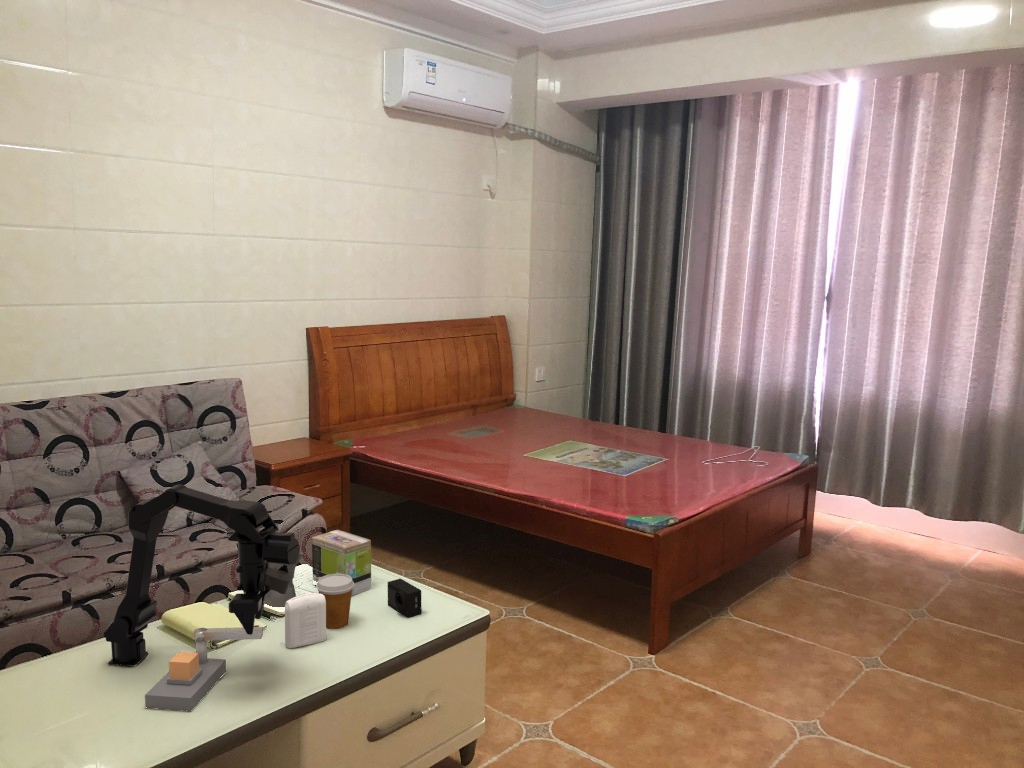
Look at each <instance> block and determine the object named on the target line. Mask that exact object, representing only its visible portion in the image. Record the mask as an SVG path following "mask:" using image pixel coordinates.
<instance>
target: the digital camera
mask: <svg viewBox="0 0 1024 768" xmlns="http://www.w3.org/2000/svg"><path fill="white" fill-rule="evenodd" d="M387 606H388V607H390V609H392V610H394V611H395V612H397V613H399V614H400V615H402V616H403V617H405V618H407V619H411V618H414V617H417V616H420V615H422V590H421V589H420V588H419V587H417V586H414V585H413V584H411V582H408V581H406V580H404V579H402V578H398V579H397V578H396V579H394V580H389V581H387Z"/></svg>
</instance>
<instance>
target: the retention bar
mask: <svg viewBox="0 0 1024 768" xmlns="http://www.w3.org/2000/svg"><path fill="white" fill-rule="evenodd" d="M263 630H264V627H263V626H254V629H253V634H252V635H248V634H247V633H246V631H245V629H244V628H243V626H242V627H241V626H239V627H211V628H210V627H207V628H206V627H198V628H195V629H194V630H193V639H194V642H195V641H197V642H201V641H207V642H208V641H210V642H211V641H239V640H240V641H242V640H262V638H263V636H264V631H263Z"/></svg>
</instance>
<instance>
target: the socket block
mask: <svg viewBox="0 0 1024 768" xmlns="http://www.w3.org/2000/svg"><path fill="white" fill-rule="evenodd" d="M194 642H195V653H198V655H199V668H202V672H203V673H202V674H201V675H200V676H199V677H198V678H197V679H196V680H195V681H194V682H193V683H192V685H180V684H167V678H168V677H169V676H170V670H168V671H167V672H166V673H165V675H163V677H162V678H161V679H159V681H157V682H156V683H155V684H154V685H153V686H152V687H151V688H150V689H149V691H147V692H146V693H145V694H144V703H145V706H144V707H145V708H146V707H147V708H146V709H150V708H158V709H157V710H164V709H170V710H169V711H178V710H183V711H182V712H192V711H193V710H194V709H195V708H196V707H197V706H198V704H199V703H200V702H201V701H202V700H203V699H202V698H203V697H204V698H205V696H206V695H207V694H208V693H209V692H210V691H211V690H212V689H211V687H212V686H213V685H214V684H215V683H216V682H217V681H218V680H219V681H220V679H221V678H222V677H223V676H224V675H225V674H226V673H227V659H226V658H212V657H208V643H207V642H208V641H201V642H197V641H195V640H194ZM225 672H226V673H225ZM224 673H225V674H224ZM223 674H224V675H223ZM222 675H223V676H222ZM221 676H222V677H221ZM220 677H221V678H220ZM219 681H218V682H219ZM218 682H217V683H218ZM217 683H216V684H217ZM216 684H215V685H216ZM215 685H214V686H215ZM214 686H213V687H214ZM213 687H212V688H213ZM210 689H211V690H210ZM209 690H210V691H209ZM208 691H209V692H208ZM207 692H208V693H207ZM201 699H202V700H201ZM200 700H201V701H200ZM198 702H199V703H198ZM195 706H196V707H195ZM194 707H195V708H194ZM193 708H194V709H193ZM192 709H193V710H192ZM186 710H187V711H186ZM191 710H192V711H191Z"/></svg>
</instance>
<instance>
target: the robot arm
mask: <svg viewBox="0 0 1024 768" xmlns="http://www.w3.org/2000/svg"><path fill="white" fill-rule="evenodd" d="M175 507H177V508H179V509H183V510H187V511H189V512H192V513H197V514H199V515H203V516H204V517H205V516H206V517H209V518H213V519H215V520H219V521H221V522H223V524H224V525H225V526H227V528H228V529H230V530H232V531H234V532H233V533H232V534H231V535H230V536H229V537H228V538H227V540H228V541H230V542H237V555H238V557H237V558H238V559H237V561H238V563H237V567H236V568H235V569H236V570H235V572H236V573H237V574H238V584H237V586H236V590H237V592H238V591H242V592H243V593H236V594H235V595H234V596H232V598H231V600H230V601H229V603H228V613H230V614H234V615H235V617H236V618H237V620H239V623H240V625H241V626H242V627H243V628H244V629H245V631H246V633H247V634H248V635H252V634H253V629H254V627H255V621H256V620H260V619H261V618H262V614H263V606H264V600H265V595H266V594H267V593H268V592H269V591H270V590H274V591H277V592H279V593H280V594H286V592H287V590H288V588H289V585H290V582H291V579H292V577H293V575H292V572H291V573H290V568H289V565H287V564H290V565H293V564H295V563H296V561H297V559H298V557H299V552H301V551H300V550H301V545H300V543H299V541H298V539H297V538H295V537H296V535H295V533H294V532H278V531H279V527H278V526H277V524H276V523H275V522H274V520H273V519H272V517H271V516H270V514H269V512H268V510H267V508H266V506H265V504H263V503H262V502H259V501H253V500H246V499H245V500H230V499H226V498H223V497H220V496H216V495H213V494H211V493H207V492H203V491H200V490H196V489H193V488H190V487H187V486H186V485H184V484H176V485H174V486H171V487H169V488H168V489H165V491H164V492H162V493H161V494H160V495H157V496H153V497H150V498H147V499H146V500H143V501H141V502H139V503H137V504H135V505H132V507H130V508H129V511H128V517H127V518H128V519H127V520H128V530H129V531H130V532H129V533H130V534H131V536H132V538H133V539H132V540H133V541H132V548H131V553H130V560H129V568H128V576H127V582H126V591H125V595H124V596H123V598H122V600H121V602H120V603H119V605H118V607H117V608H116V612H115V614H114V618H113V623H112V624H111V625H110V626H109V627H108V628H107V629H106V630H105V631H104V632H103V636H104V639H105V641H106V642H109V643H110V645H111V660H109V661H108V662H107V665H109V666H121V667H123V666H124V667H135V666H136V665H138V664H139V663H140V662H141V661H142V660H144V658H146V657H147V656H148V655H149V651H147V646H146V643H147V642H146V639H145V637H144V632H143V631H144V630H146V629H148V625H149V623H150V622H152V620H153V618H155V617H157V614H156V609H157V604H158V601H157V600H153V599H152V597H151V595H150V587H151V586H150V585H151V579H152V573H153V572H152V571H153V566H154V558H155V552H156V545H157V539H158V537H159V535H160V533H161V531H162V530H163V528H164V526H165V525H166V521H167V518H168V516H169V512H170V511H171V510H172V509H173V508H174V509H175ZM261 527H263V529H260V528H261ZM258 529H260V530H259V531H258ZM269 563H279V564H282V565H281V566H280V567H279V568H278V569H277V568H276V567H275V569H273V568H270V567H269Z"/></svg>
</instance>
